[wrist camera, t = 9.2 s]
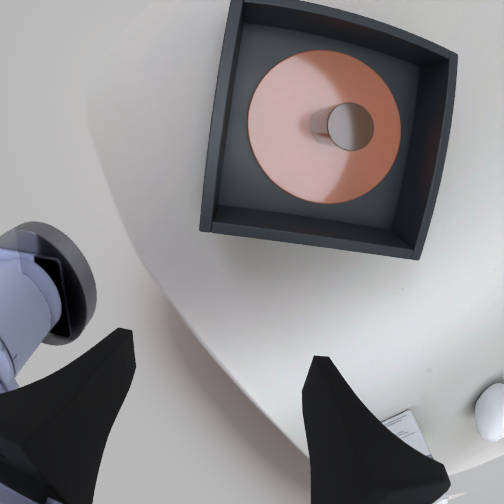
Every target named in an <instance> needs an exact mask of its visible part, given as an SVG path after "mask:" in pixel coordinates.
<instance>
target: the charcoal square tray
mask: <svg viewBox="0 0 504 504" xmlns="http://www.w3.org/2000/svg"><path fill="white" fill-rule="evenodd" d="M310 50H331V51H336V52H341V53H344V54H347V55H350V56H352V57H354V58H356V59H358V60H360V61H362V62H363V63H365V64H366V65H368V66H369V67H370V68H371V69H373V70H374V71H375V72H376V73H377V74H378V75H379V76H380V77H381V78H382V80H383V81H384V82H385V84H386V85H387V86H388V88H389V90H390V91H391V93H392V95H393V97H394V99H395V102H396V104H397V108H398V111H399V115H400V123H401V138H400V145H399V149H398V153H397V156H396V158H395V161H394V163H393V165H392V167H391V168H390V170H389V172H388V173H387V174H386V176H385V177H384V178H383V179H382V180H381V182H380V183H379V184H378V185H376V186H375V187H374V188H373V189H372V190H370V191H369V192H367V193H366V194H364V195H362V196H360V197H358V198H356V199H353V200H350V201H347V202H343V203H337V204H318V203H312V202H307V201H304V200H301V199H298V198H296V197H294V196H292V195H290V194H288V193H286V192H285V191H283V190H282V189H280V188H279V187H277V186H276V185H275V184H274V183H273V182H272V181H271V180H270V179H269V178H268V177H267V176H266V175H265V173H264V172H263V171H262V169H261V168H260V166H259V165H258V163H257V161H256V159H255V157H254V155H253V153H252V150H251V147H250V144H249V139H248V134H247V112H248V108H249V103H250V100H251V97H252V95H253V92H254V90H255V88H256V87H257V85H258V83H259V82H260V80H261V79H262V78H263V76H264V75H265V74H266V73H267V72H268V71H269V70H270V69H271V68H272V67H273V66H275V65H276V64H277V63H279V62H280V61H282V60H284V59H285V58H287V57H289V56H292V55H294V54H297V53H300V52H305V51H310ZM457 63H458V54H456V53H454V52H452V51H450V50H448V49H446V48H444V47H442V46H440V45H437V44H435V43H433V42H431V41H429V40H426V39H424V38H422V37H419V36H417V35H414V34H412V33H409V32H407V31H404V30H402V29H399V28H396V27H394V26H391V25H388V24H385V23H382V22H379V21H376V20H373V19H370V18H367V17H364V16H361V15H357V14H354V13H350V12H347V11H343V10H339V9H335V8H331V7H327V6H323V5H319V4H314V3H310V2H305V1H300V0H231V2H230V7H229V12H228V18H227V23H226V29H225V34H224V40H223V46H222V52H221V58H220V64H219V71H218V77H217V84H216V90H215V97H214V104H213V111H212V119H211V126H210V134H209V142H208V150H207V158H206V167H205V176H204V185H203V194H202V204H201V215H200V225H199V231H201V232H212V233H217V234H225V235H233V236H241V237H249V238H257V239H265V240H273V241H280V242H288V243H296V244H303V245H311V246H318V247H326V248H333V249H340V250H348V251H355V252H362V253H369V254H376V255H383V256H390V257H397V258H404V259H412V260H419V259H420V256H421V253H422V250H423V246H424V243H425V240H426V236H427V233H428V229H429V226H430V222H431V218H432V215H433V211H434V207H435V203H436V199H437V195H438V190H439V186H440V182H441V177H442V172H443V167H444V162H445V157H446V152H447V146H448V141H449V134H450V128H451V121H452V114H453V106H454V98H455V88H456V77H457Z"/></svg>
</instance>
